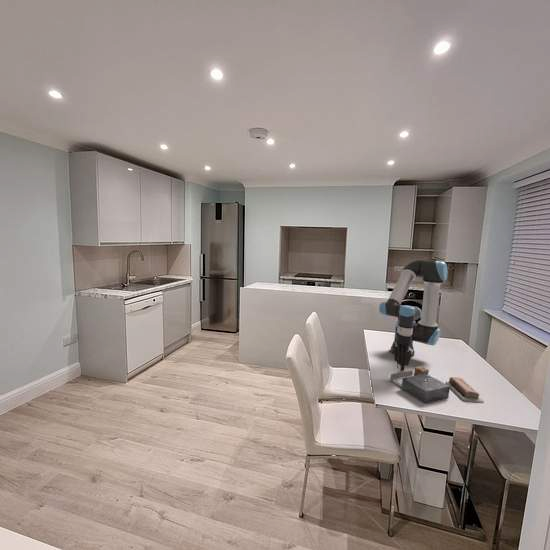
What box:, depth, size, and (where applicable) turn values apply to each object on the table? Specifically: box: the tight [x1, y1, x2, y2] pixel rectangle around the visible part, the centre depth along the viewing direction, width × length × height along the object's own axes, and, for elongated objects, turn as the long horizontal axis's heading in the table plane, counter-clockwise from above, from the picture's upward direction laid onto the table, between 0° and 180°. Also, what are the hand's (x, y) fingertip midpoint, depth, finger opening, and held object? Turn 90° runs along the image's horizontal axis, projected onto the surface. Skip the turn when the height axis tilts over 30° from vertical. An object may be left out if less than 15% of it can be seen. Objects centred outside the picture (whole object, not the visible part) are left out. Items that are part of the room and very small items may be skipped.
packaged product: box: [445, 376, 485, 404], centre depth 152 cm, size 18×5×10 cm
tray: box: [390, 369, 414, 388], centre depth 157 cm, size 14×15×4 cm
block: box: [413, 365, 429, 376], centre depth 167 cm, size 5×5×5 cm
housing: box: [401, 374, 450, 404], centre depth 149 cm, size 14×16×6 cm
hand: (399, 375), depth 163 cm, fingers closed
